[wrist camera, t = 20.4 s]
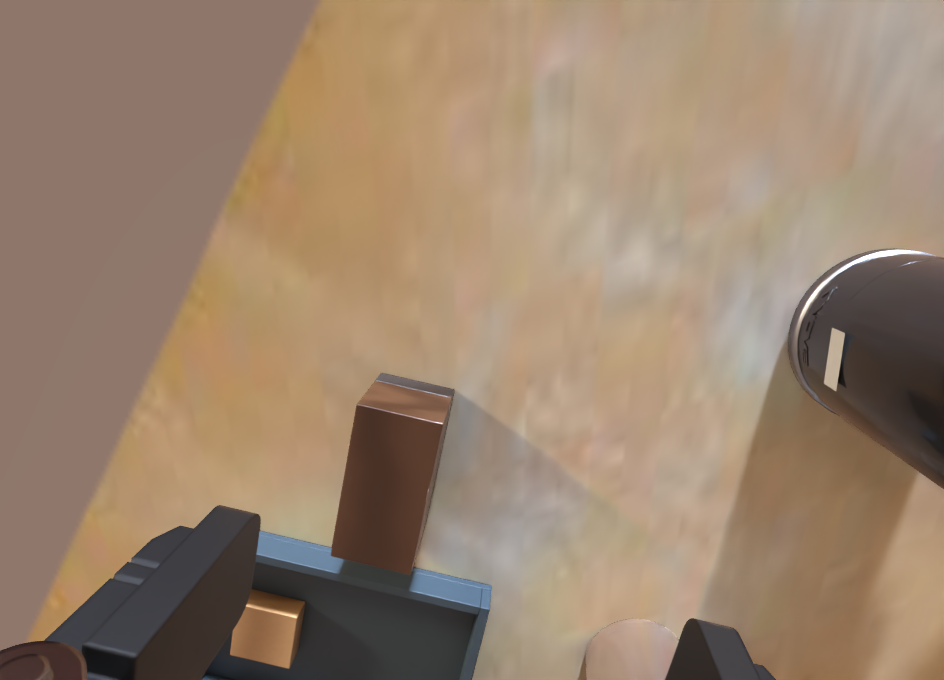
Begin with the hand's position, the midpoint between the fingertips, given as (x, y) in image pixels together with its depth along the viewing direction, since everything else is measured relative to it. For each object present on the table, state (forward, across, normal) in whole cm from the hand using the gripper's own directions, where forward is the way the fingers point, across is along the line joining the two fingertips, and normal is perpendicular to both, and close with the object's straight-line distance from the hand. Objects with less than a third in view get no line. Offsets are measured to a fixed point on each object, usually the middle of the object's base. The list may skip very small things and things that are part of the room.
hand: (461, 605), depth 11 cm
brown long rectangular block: (+24, +4, +9) cm, 26 cm away
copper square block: (+24, +10, +23) cm, 34 cm away
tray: (+24, +6, +23) cm, 34 cm away
